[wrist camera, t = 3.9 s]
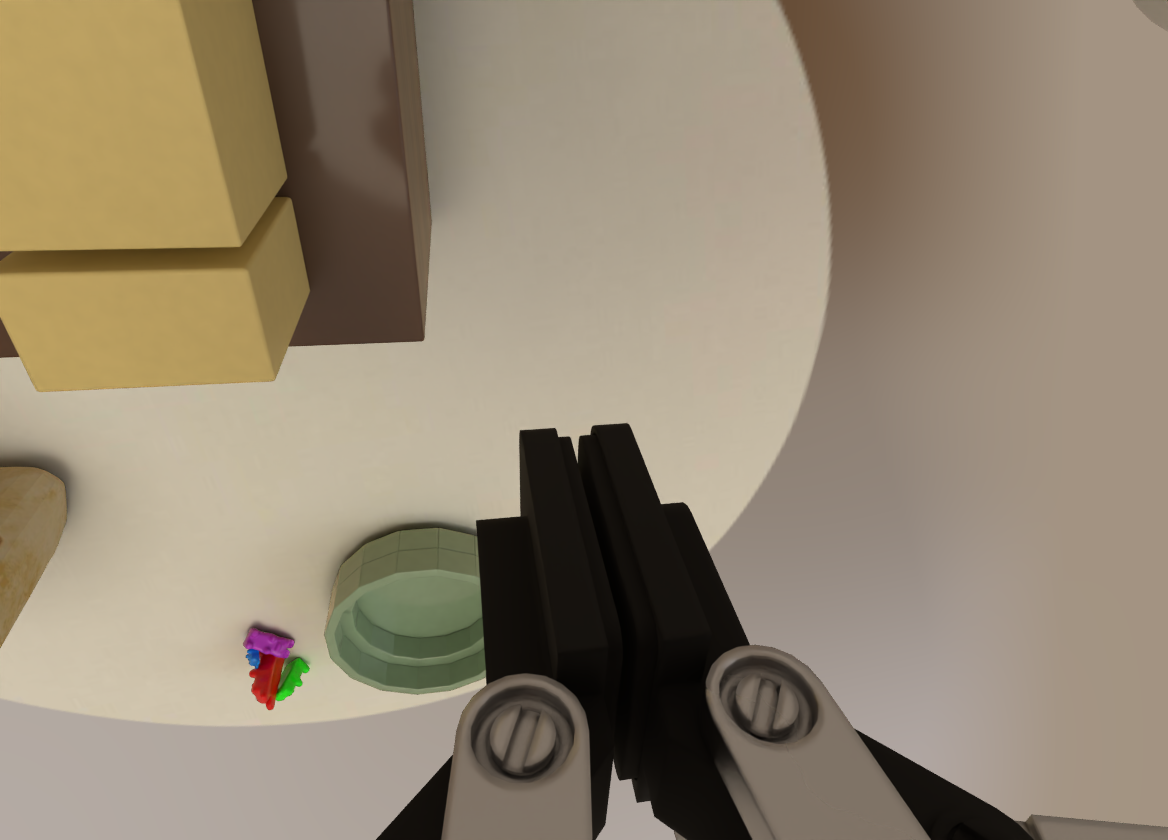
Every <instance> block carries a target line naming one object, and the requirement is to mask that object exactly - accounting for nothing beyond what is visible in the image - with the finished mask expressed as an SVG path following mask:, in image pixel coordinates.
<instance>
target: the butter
mask: <svg viewBox="0 0 1168 840" xmlns="http://www.w3.org/2000/svg"><path fill="white" fill-rule="evenodd" d="M286 179H287V172H286V167H285V162H284V158H283V153H282V148H281V143H280V138H279V133H278V128H277V123H276V118H275V113H274V108H273V103H272V98H271V93H270V88H269V83H268V78H267V73H266V68H265V63H264V58H263V53H262V48H261V44H260V39H259V34H258V29H257V24H256V19H255V14H254V9H253V4H252V0H0V251H42V250H100V249H158V248H216V247H240V246H242V244H243V243H244V241H245V240H246V238H247V237H248V235H249V234H250V233H251V231H252V230H253V228H254V227H255V225H256V224H257V222H258V221H259V219H260V218H261V216H262V215H263V213H264V212H265V210H266V209H267V207H268V206H269V204H270V203H271V201H272V200H273V199H274V197H275V196H276V194H277V193H278V191H279V190H280V188H281V187H282V185H283V184H284V182H285V181H286Z"/></svg>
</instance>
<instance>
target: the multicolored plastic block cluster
mask: <svg viewBox="0 0 1168 840" xmlns="http://www.w3.org/2000/svg"><path fill="white" fill-rule="evenodd" d="M294 643H295V642H294V640H292V639H288V638H285V637H278V636H276V635H274V634H272V633H266V632H262V631H259V630H257V629H256V628H251V629H250V630H249V632H248V634H247V636H246V639H245V641H244V643H243V646H244V647H245V648H246V649H249V650H247V653H249V654H247V655H246V658H248V660H249V664H250V665H251V666H255V669H253V670H251V671H250V673H249V675H250V677H252V678H255V680H254V683H253V684H252V689H251V692H252V693H253V694H254V695H255V696H256V699H257V701H258V702H260V703H266V707H267V709H268V710H272V709H273V708H274V705H275V700H277V701H282V700H284V699H285V698H286V697H287V696H290V695H292V693H293V692H294V688H295V686H297V687H300V686H301V685H302V684H303V683H302V680H301V679H300V676H301V674H302V672H303V673H307V672H308V671H309V669H310V668H309V666H308V665H307V664H306V663H305V662H304V661H302V660H301V659H300V658H297V659H295V660H294V661H292V662H291V663H289V664H288V665H286V667H285V668H284V671H283V673H282V674H281V672H282V667H283V664H284V661H285V658H287V657H288V656H289V654H290V652H289V650H287V649H286V648H292V647H293V645H294Z"/></svg>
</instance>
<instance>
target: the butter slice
mask: <svg viewBox="0 0 1168 840" xmlns="http://www.w3.org/2000/svg"><path fill="white" fill-rule="evenodd" d="M309 293H310V288H309V283H308V278H307V273H306V268H305V263H304V258H303V253H302V248H301V243H300V238H299V233H298V228H297V223H296V218H295V213H294V209H293V204H292V200H291V198H289V197H274V199H273V200H272V201H271V203H270V204H269V206H268V207H267V209H266V210H265V212H264V213H263V215H262V216H261V218H260V219H259V221H258V222H257V224H256V225H255V227H254V228H253V230H252V231H251V233H250V234H249V235H248V237H247V238H246V240H245V241H244V243H243V244H242V246H240V247H216V248H158V249H100V250H42V251H13V252H12V253H11V254H9V255H8V256H6V257H5V258H4V259H2V260H1V261H0V318H1V320H2V322H3V324H4V326H5V328H6V330H7V332H8V334H9V336H10V338H11V340H12V342H13V344H14V346H15V348H16V350H17V352H18V354H19V356H20V359H21V361H22V363H23V365H24V367H25V369H26V371H27V373H28V375H29V377H30V379H31V381H32V383H33V385H34V387H35V389H36V390H37V391H39V392H50V391H72V390H93V389H115V388H137V387H159V386H180V385H202V384H224V383H245V382H267V381H274V380H275V379H276V376H277V374H278V371H279V369H280V366H281V364H282V361H283V359H284V356H285V354H286V351H287V348H288V346H289V343H290V341H291V338H292V336H293V333H294V331H295V328H296V326H297V323H298V321H299V318H300V315H301V313H302V310H303V308H304V305H305V303H306V300H307V298H308V295H309Z"/></svg>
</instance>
